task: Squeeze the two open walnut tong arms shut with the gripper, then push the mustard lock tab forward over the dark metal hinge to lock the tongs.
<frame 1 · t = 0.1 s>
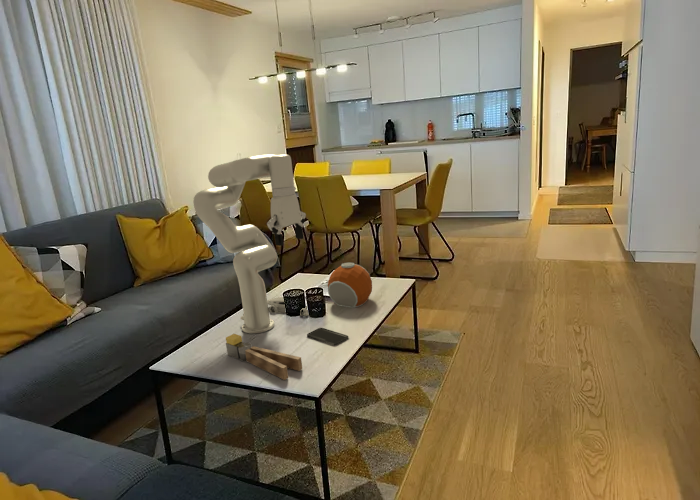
hand: (289, 241, 163), 37 cm above the table, tool pointing down, fingers open, 9 cm apart
pale grey knobby bar: (291, 310, 203), on the table
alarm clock: (351, 302, 204), on the table
phone: (327, 338, 172), on the table
tong arm 1: (265, 363, 151), point 2 cm above the table, hinge at 6.0°
lock tab: (233, 339, 163), point 6 cm above the table, slide at 0.0 cm
tong hinge: (246, 358, 161), on the table
tong arm 2: (275, 358, 154), point 2 cm above the table, hinge at 6.0°
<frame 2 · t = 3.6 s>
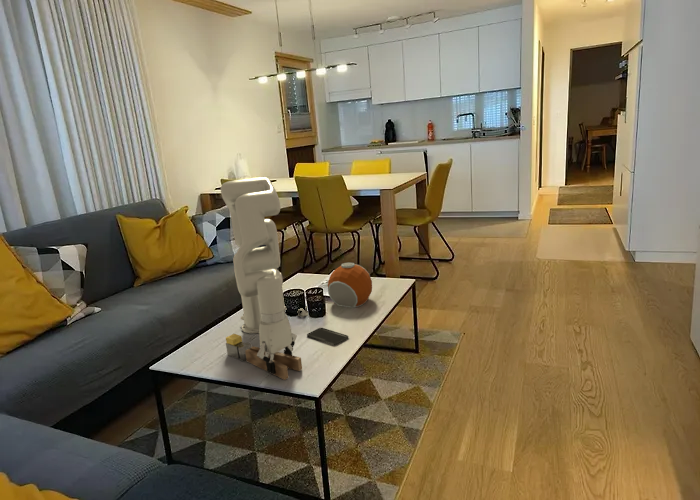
hand: (280, 367, 150), 1 cm above the table, tool pointing down, fingers open, 6 cm apart
tong arm 1: (265, 363, 151), point 2 cm above the table, hinge at 5.8°, touching gripper
tong arm 2: (275, 358, 154), point 2 cm above the table, hinge at 5.7°, touching gripper
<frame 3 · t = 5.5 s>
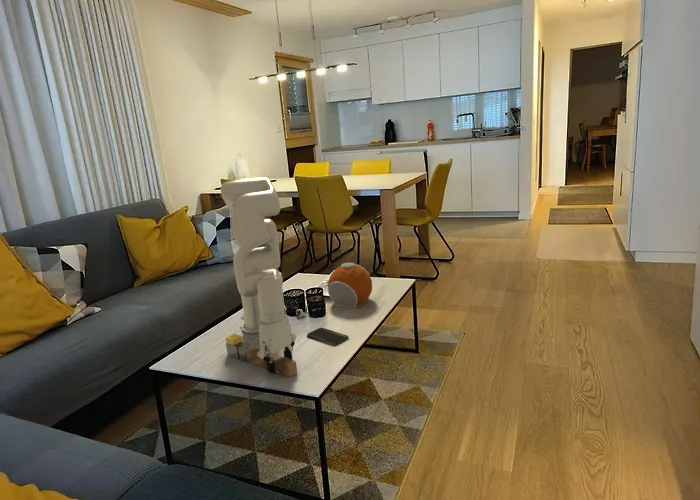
hand: (280, 367, 150), 1 cm above the table, tool pointing down, fingers open, 6 cm apart
tong arm 1: (269, 362, 152), point 2 cm above the table, hinge at 0.3°, touching tong arm 2
tong arm 2: (272, 360, 153), point 2 cm above the table, hinge at -0.5°, touching tong arm 1
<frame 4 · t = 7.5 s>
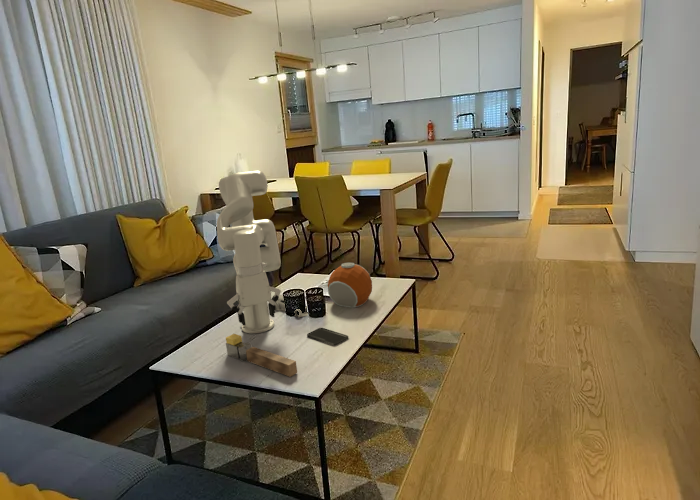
hand: (257, 319, 152), 16 cm above the table, tool pointing down, fingers open, 9 cm apart
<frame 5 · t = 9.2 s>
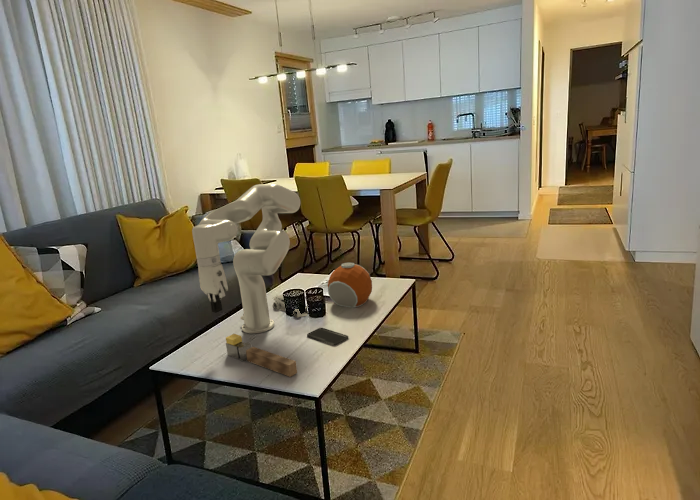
hand: (217, 311, 165), 15 cm above the table, tool pointing down, fingers closed
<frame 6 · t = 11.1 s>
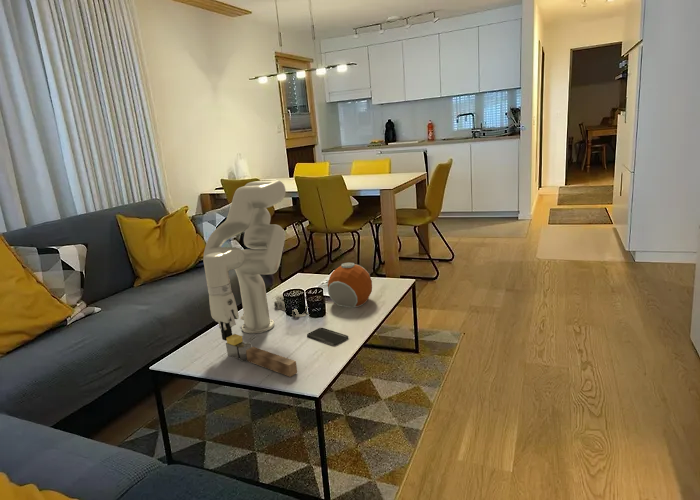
hand: (227, 338, 165), 5 cm above the table, tool pointing down, fingers closed
lock tab: (234, 339, 163), point 6 cm above the table, slide at 0.4 cm, touching gripper
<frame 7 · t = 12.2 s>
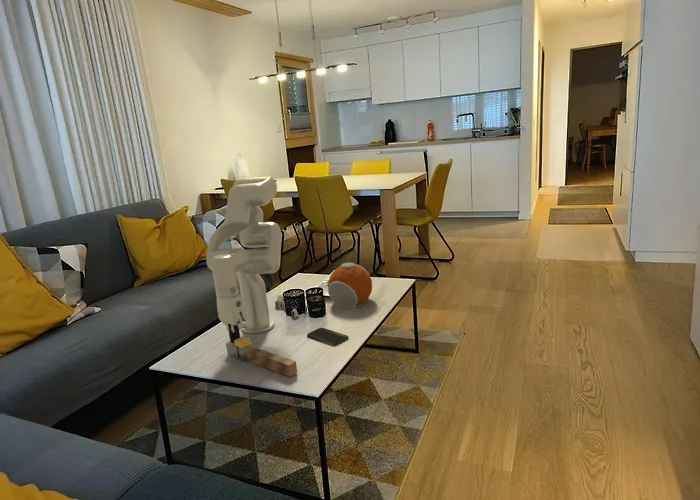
hand: (235, 341, 162), 5 cm above the table, tool pointing down, fingers closed
lock tab: (242, 342, 160), point 6 cm above the table, slide at 4.7 cm, touching gripper
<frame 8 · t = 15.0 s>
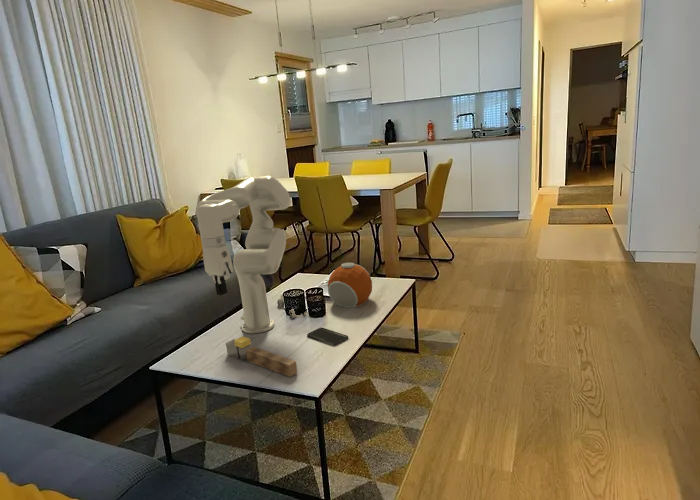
hand: (222, 293, 161), 22 cm above the table, tool pointing down, fingers closed
lock tab: (242, 342, 160), point 6 cm above the table, slide at 4.6 cm
at the end: tong arm 2 at +0° (first picture: +6°); tong arm 1 at +0° (first picture: +6°); lock tab slide at 4.6 cm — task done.
